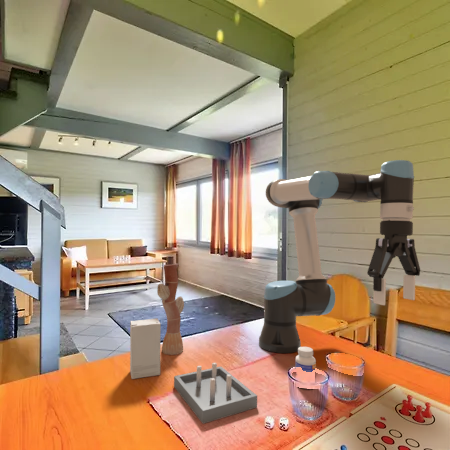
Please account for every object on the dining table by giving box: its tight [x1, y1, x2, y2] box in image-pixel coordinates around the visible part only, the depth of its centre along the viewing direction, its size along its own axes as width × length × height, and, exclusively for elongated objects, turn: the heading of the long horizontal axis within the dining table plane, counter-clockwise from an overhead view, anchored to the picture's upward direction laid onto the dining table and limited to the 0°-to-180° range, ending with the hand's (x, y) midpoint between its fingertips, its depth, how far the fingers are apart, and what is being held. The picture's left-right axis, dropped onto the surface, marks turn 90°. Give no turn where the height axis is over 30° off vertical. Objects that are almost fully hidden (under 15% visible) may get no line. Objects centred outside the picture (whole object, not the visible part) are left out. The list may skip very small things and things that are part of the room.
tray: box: [173, 362, 258, 424], centre depth 77 cm, size 18×14×6 cm
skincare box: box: [129, 318, 162, 380], centre depth 89 cm, size 8×6×15 cm
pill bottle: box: [295, 346, 317, 372], centre depth 84 cm, size 5×5×10 cm
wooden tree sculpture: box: [156, 263, 185, 356], centre depth 106 cm, size 10×7×30 cm
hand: (394, 301), depth 80 cm, fingers open, 13 cm apart
